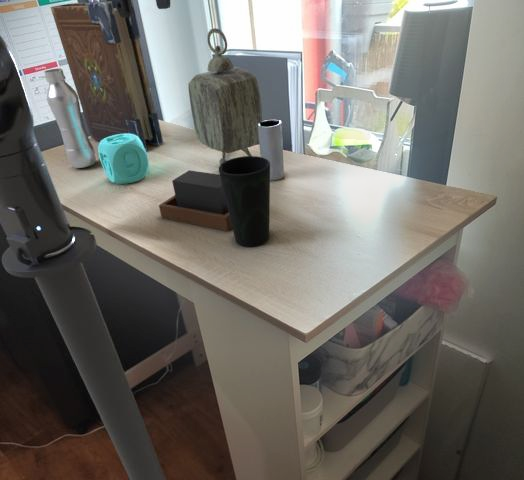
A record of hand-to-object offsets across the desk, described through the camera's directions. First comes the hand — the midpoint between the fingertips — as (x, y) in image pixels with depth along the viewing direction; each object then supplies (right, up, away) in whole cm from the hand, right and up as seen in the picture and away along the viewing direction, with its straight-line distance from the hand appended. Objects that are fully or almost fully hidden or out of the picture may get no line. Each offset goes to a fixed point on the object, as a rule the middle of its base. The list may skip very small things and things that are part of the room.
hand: (146, 12), depth 71 cm
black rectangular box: (+8, -25, +15) cm, 31 cm away
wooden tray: (+8, -26, +15) cm, 31 cm away
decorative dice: (-12, -13, +33) cm, 38 cm away
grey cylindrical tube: (+20, -15, +26) cm, 36 cm away
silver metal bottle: (-25, -7, +41) cm, 49 cm away
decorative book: (-19, +4, +53) cm, 57 cm away
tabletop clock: (+11, -9, +34) cm, 37 cm away
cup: (+16, -33, +7) cm, 37 cm away
